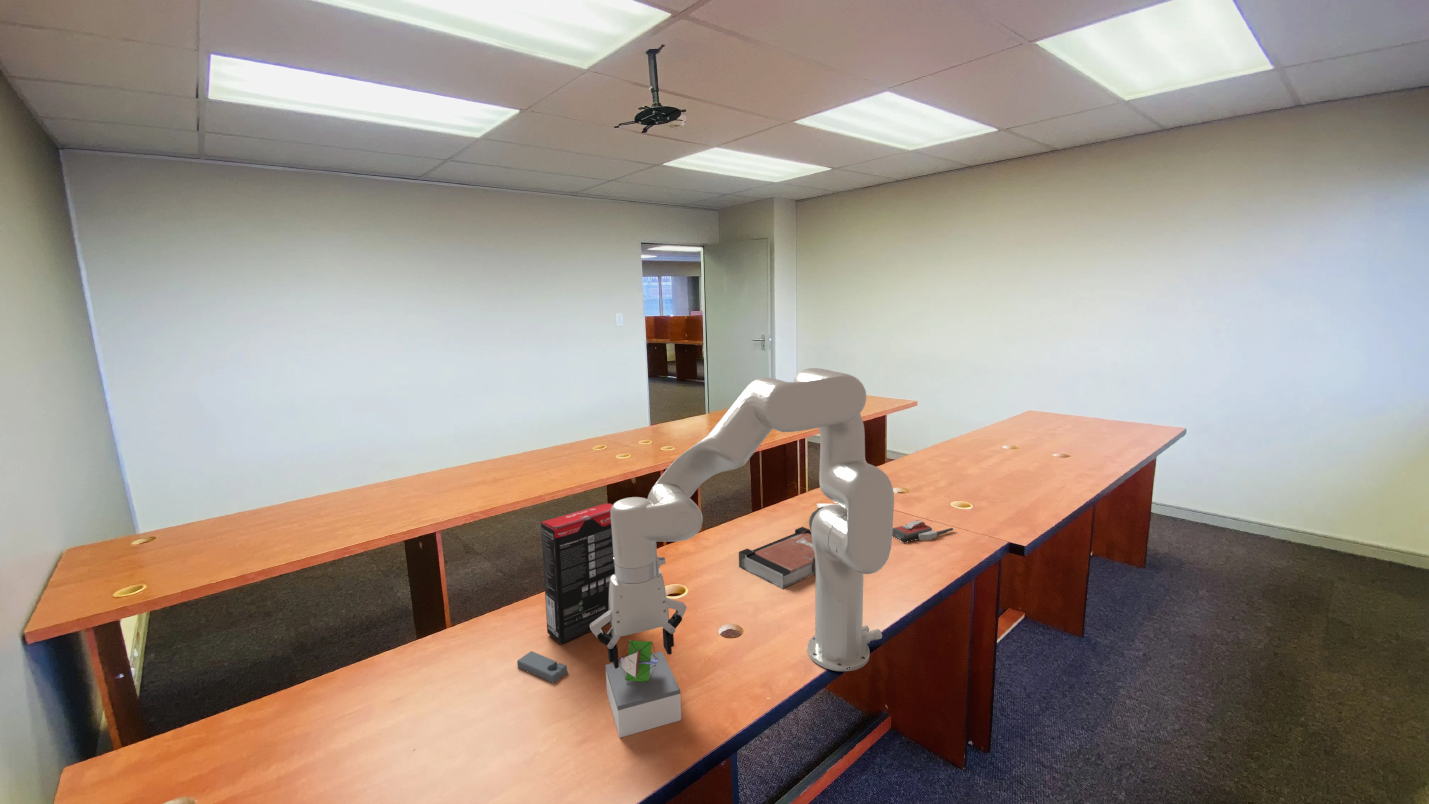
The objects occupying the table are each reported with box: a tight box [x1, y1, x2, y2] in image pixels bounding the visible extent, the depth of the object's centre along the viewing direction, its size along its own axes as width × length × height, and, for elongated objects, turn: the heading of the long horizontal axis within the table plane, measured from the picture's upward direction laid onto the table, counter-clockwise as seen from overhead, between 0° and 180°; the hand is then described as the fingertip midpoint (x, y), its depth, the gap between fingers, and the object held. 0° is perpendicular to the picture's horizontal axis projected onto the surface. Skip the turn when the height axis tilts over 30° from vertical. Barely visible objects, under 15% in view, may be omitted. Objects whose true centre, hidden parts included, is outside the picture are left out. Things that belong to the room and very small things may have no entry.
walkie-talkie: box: [892, 519, 954, 543], centre depth 176 cm, size 9×4×20 cm
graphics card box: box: [540, 502, 615, 645], centre depth 128 cm, size 17×7×27 cm, turn 134°
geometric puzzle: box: [618, 639, 659, 682], centre depth 102 cm, size 7×7×8 cm
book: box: [738, 526, 816, 590], centre depth 159 cm, size 26×18×5 cm
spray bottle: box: [808, 503, 839, 531], centre depth 190 cm, size 3×11×24 cm
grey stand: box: [604, 651, 682, 738], centre depth 103 cm, size 11×12×6 cm
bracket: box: [516, 650, 568, 684], centre depth 115 cm, size 4×10×2 cm, turn 59°
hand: (641, 657), depth 102 cm, fingers open, 9 cm apart
